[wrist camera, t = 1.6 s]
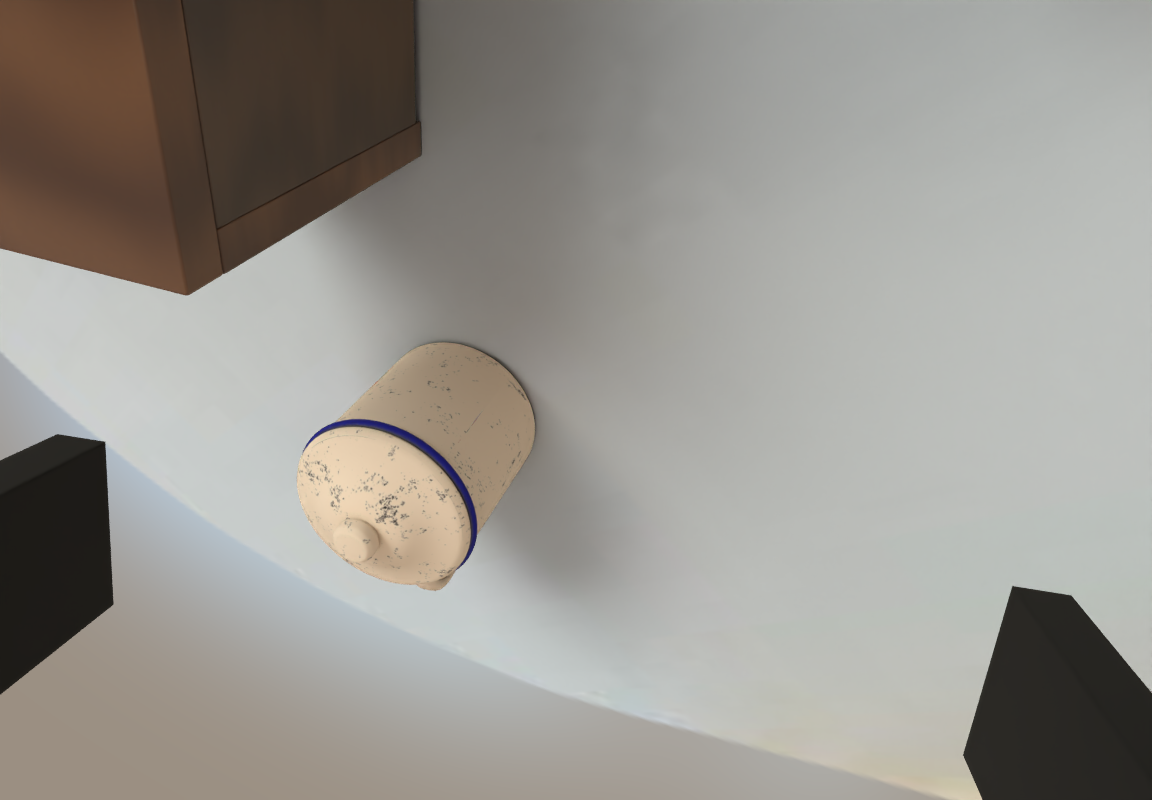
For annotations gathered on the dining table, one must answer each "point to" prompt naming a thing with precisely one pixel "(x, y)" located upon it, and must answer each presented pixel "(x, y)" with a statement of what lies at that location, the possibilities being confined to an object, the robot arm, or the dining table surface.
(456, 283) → the dining table surface
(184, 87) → the shelf
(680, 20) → the dining table surface
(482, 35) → the dining table surface
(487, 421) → the teacup with lid
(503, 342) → the dining table surface
